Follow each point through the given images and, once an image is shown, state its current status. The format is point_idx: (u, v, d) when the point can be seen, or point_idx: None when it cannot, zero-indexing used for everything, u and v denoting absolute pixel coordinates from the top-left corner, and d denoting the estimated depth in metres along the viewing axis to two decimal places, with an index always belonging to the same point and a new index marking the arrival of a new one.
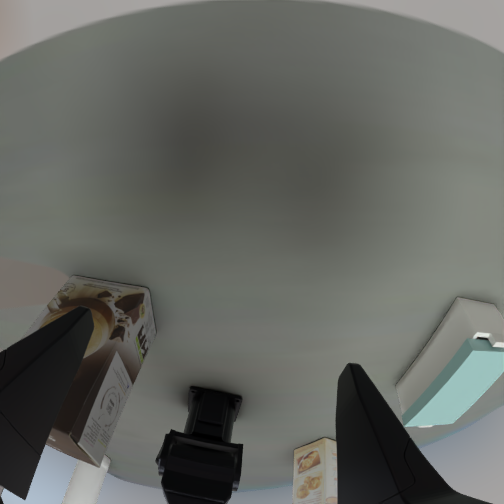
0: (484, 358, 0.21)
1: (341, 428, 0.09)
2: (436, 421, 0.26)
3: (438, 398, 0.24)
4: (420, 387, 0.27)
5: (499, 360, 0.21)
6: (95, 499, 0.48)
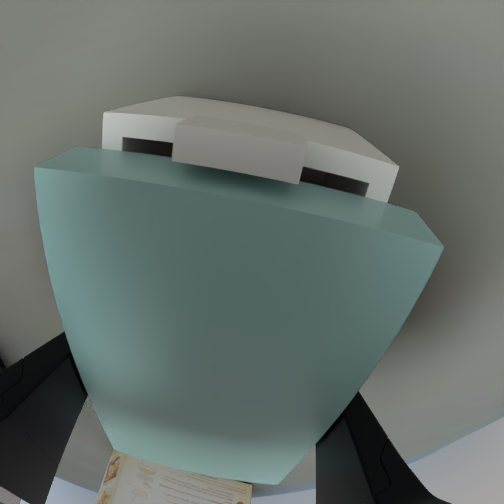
0: (144, 233, 0.05)
1: None
2: (204, 468, 0.11)
3: (108, 396, 0.08)
4: None
5: (295, 275, 0.05)
6: None
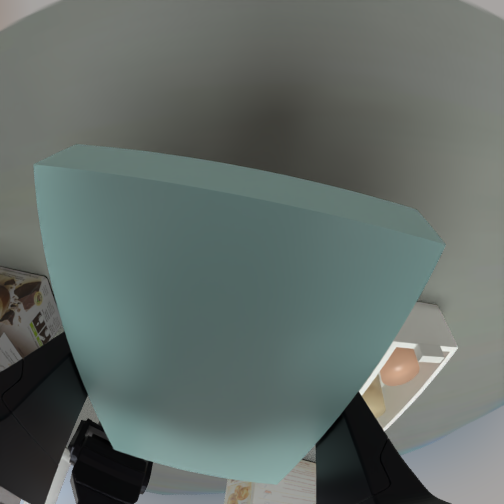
0: (145, 230, 0.05)
1: None
2: (204, 468, 0.11)
3: (108, 396, 0.08)
4: None
5: (296, 272, 0.05)
6: (56, 491, 0.46)
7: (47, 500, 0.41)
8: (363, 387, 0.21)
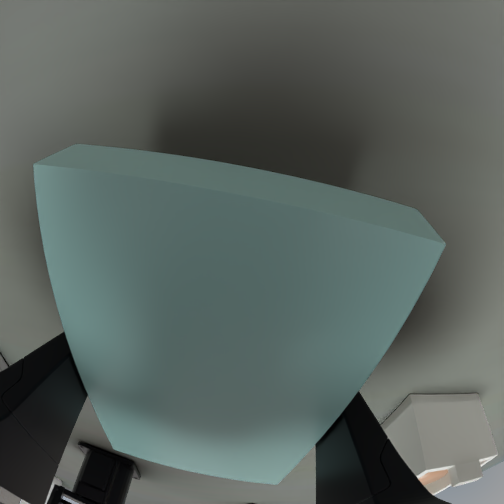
0: (144, 229, 0.05)
1: None
2: (204, 468, 0.10)
3: (107, 396, 0.08)
4: None
5: (296, 272, 0.05)
6: None
7: None
8: None
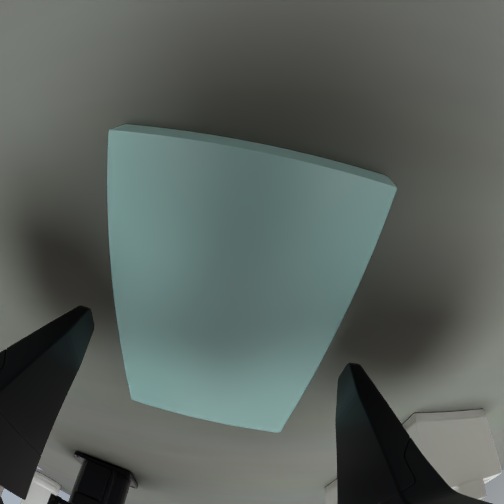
0: (192, 175, 0.08)
1: (341, 428, 0.09)
2: (214, 413, 0.13)
3: (137, 331, 0.11)
4: None
5: (293, 205, 0.08)
6: None
7: None
8: None
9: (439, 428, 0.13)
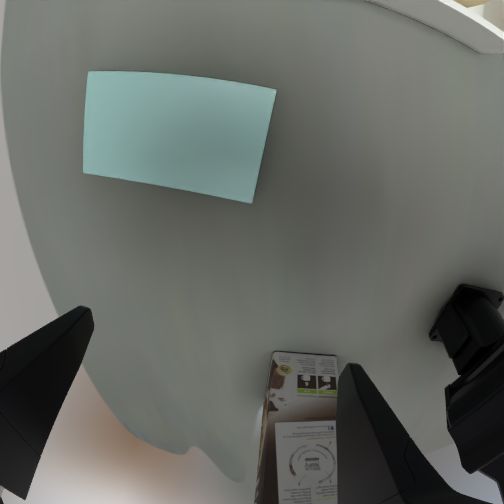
0: (93, 142, 0.19)
1: (341, 428, 0.09)
2: (250, 139, 0.18)
3: (171, 175, 0.20)
4: (453, 18, 0.10)
5: (98, 106, 0.17)
6: None
7: None
8: None
9: None
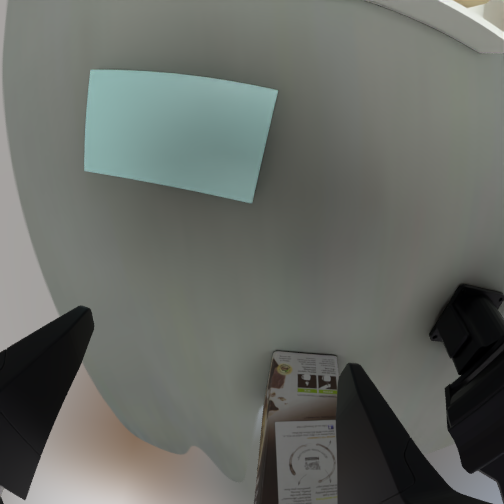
0: (95, 140, 0.19)
1: (341, 428, 0.09)
2: (250, 139, 0.18)
3: (172, 174, 0.20)
4: (453, 18, 0.10)
5: (100, 104, 0.17)
6: None
7: None
8: None
9: None
